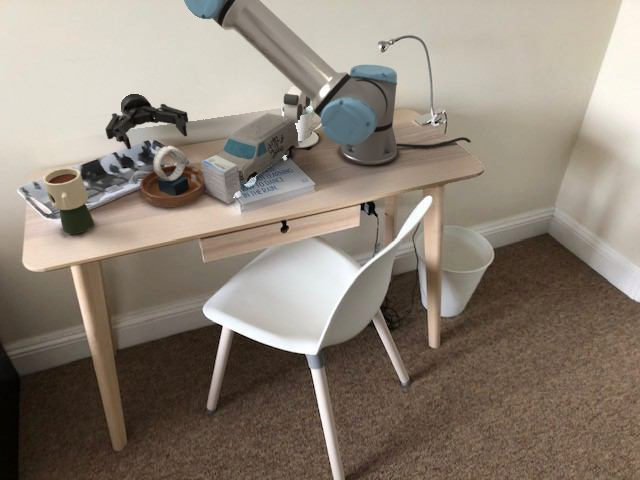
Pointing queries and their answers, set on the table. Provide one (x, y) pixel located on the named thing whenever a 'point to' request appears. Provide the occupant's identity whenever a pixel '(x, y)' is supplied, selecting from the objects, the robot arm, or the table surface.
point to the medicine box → (221, 178)
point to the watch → (172, 180)
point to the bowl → (165, 200)
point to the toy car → (260, 144)
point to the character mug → (69, 199)
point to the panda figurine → (298, 112)
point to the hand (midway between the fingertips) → (157, 137)
